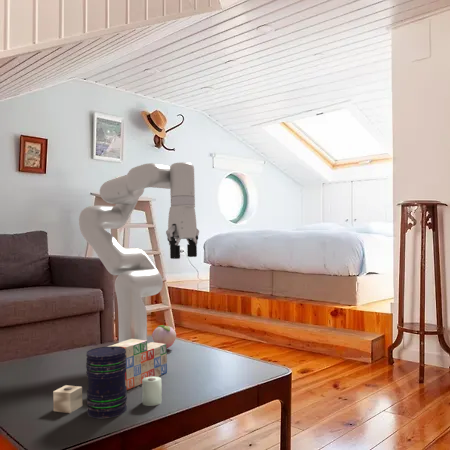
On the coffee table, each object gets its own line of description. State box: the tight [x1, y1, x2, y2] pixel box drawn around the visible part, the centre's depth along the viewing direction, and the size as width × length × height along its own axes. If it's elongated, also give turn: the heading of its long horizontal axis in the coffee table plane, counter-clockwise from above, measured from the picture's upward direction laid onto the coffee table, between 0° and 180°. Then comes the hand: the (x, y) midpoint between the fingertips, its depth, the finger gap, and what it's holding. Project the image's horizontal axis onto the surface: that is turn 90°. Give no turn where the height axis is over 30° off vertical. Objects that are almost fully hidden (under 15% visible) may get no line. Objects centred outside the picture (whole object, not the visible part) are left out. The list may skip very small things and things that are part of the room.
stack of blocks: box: [106, 339, 168, 391], centre depth 140 cm, size 21×6×12 cm, turn 148°
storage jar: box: [85, 345, 128, 419], centre depth 117 cm, size 10×10×15 cm
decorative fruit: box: [151, 324, 177, 350], centre depth 177 cm, size 9×8×10 cm
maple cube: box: [52, 384, 83, 414], centre depth 119 cm, size 5×5×5 cm
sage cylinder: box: [141, 376, 163, 407], centre depth 122 cm, size 5×5×6 cm
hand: (183, 257), depth 145 cm, fingers open, 9 cm apart
